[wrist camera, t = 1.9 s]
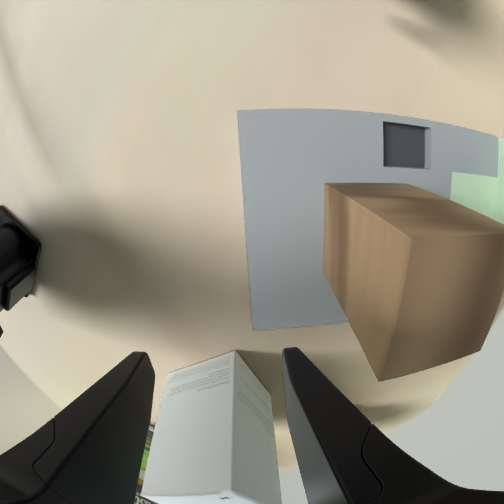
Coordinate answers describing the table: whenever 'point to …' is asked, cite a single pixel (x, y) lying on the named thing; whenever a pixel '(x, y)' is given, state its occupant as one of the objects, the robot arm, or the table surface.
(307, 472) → the robot arm
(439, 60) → the table surface
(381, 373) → the walnut block
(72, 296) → the table surface
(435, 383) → the table surface
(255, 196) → the board
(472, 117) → the table surface
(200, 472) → the supplement box
